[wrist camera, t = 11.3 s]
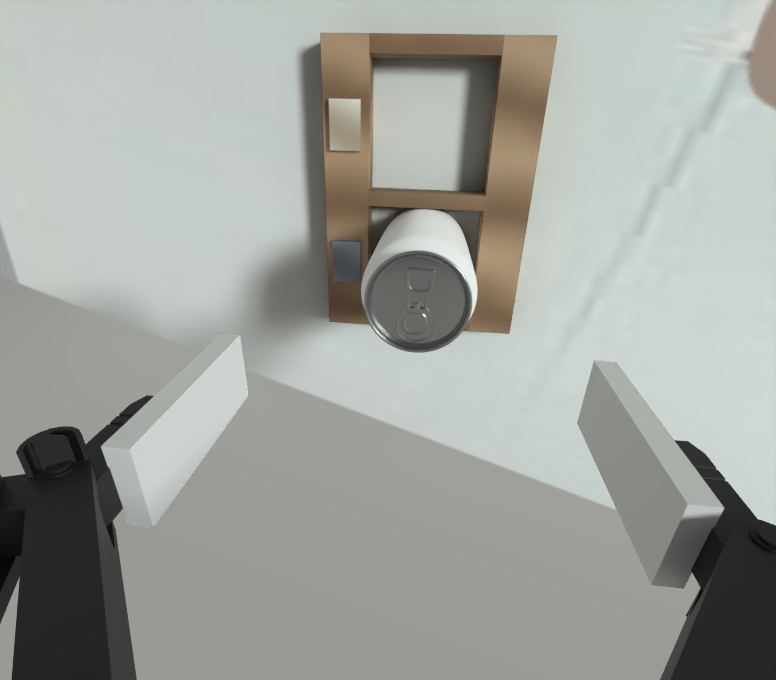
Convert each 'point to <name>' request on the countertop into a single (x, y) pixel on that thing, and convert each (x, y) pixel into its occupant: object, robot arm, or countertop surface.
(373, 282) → the can
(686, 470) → the robot arm
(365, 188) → the socket board
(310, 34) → the countertop surface
